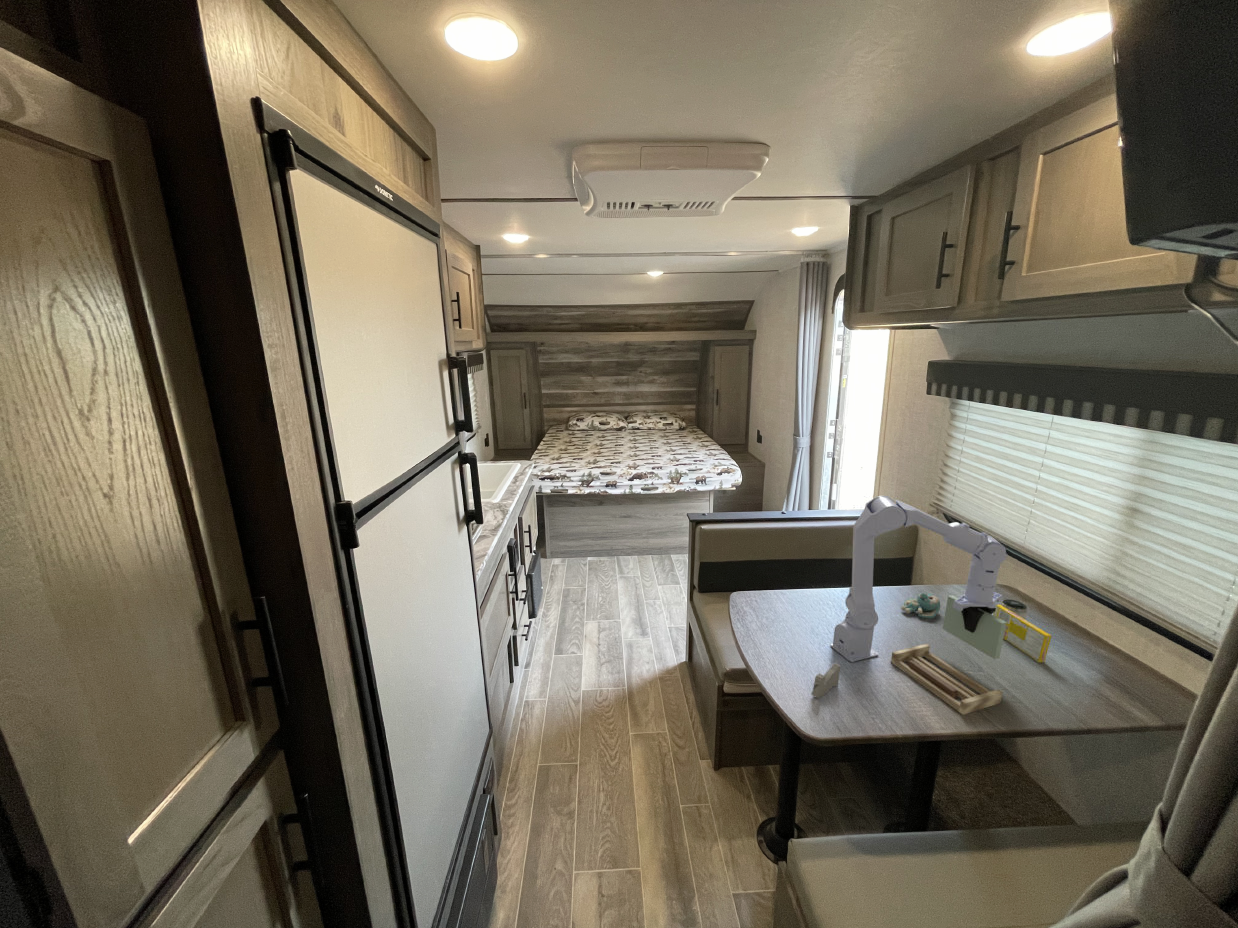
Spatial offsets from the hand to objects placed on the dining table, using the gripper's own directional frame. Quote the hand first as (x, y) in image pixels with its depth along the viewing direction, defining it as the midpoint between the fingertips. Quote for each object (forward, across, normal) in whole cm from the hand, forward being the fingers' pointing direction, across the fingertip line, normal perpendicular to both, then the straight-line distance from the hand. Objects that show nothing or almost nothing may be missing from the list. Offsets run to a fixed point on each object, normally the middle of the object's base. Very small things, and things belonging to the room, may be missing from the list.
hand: (972, 629), depth 126 cm
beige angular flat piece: (+11, -43, +3) cm, 44 cm away
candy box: (+11, +22, +2) cm, 25 cm away
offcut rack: (+10, -11, -3) cm, 15 cm away
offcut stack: (+11, -15, -3) cm, 19 cm away
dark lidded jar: (+11, +30, +9) cm, 33 cm away
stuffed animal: (+11, +12, +24) cm, 28 cm away
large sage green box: (+4, 0, 0) cm, 4 cm away
